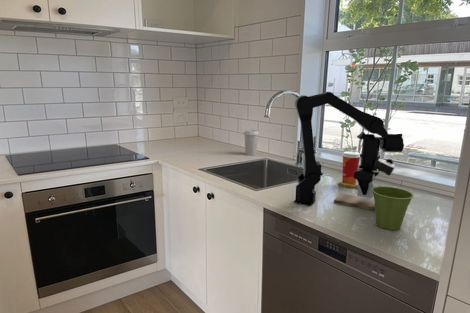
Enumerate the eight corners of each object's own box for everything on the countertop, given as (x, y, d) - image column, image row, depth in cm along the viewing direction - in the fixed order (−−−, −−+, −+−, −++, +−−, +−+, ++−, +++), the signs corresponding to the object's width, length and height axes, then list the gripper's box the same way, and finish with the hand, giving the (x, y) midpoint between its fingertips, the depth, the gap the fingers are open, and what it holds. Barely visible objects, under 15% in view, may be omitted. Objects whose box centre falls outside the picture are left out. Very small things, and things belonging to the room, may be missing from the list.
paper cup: (343, 179, 154) (346, 150, 151) (360, 183, 150) (363, 152, 146) (337, 183, 148) (339, 153, 145) (354, 187, 144) (357, 155, 141)
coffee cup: (258, 156, 203) (259, 131, 200) (243, 155, 203) (243, 131, 200) (258, 152, 212) (258, 129, 209) (243, 152, 212) (243, 129, 209)
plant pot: (396, 237, 97) (401, 201, 94) (360, 223, 106) (364, 190, 104) (416, 227, 104) (421, 193, 101) (381, 215, 113) (384, 183, 111)
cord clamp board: (333, 202, 125) (335, 183, 123) (340, 196, 132) (341, 177, 130) (385, 212, 115) (388, 192, 114) (389, 205, 123) (391, 185, 121)
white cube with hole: (357, 195, 122) (358, 183, 121) (360, 192, 126) (361, 180, 124) (371, 198, 119) (373, 185, 118) (374, 194, 123) (375, 182, 122)
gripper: (390, 159, 107) (385, 205, 110) (398, 149, 122) (393, 190, 126) (355, 154, 113) (351, 198, 116) (366, 146, 128) (362, 185, 131)
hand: (365, 193), depth 122 cm, fingers closed on white cube with hole, 5 cm apart
